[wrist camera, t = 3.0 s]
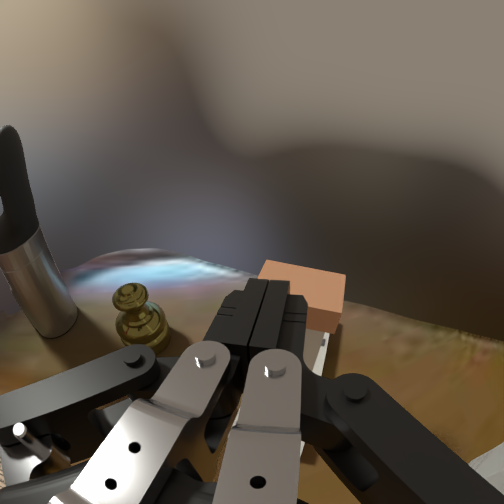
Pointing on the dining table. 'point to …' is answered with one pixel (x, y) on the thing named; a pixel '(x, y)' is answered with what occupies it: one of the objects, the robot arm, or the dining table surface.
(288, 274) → the fader tab
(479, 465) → the supplement box
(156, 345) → the brass knobbed piece
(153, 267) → the dining table surface
